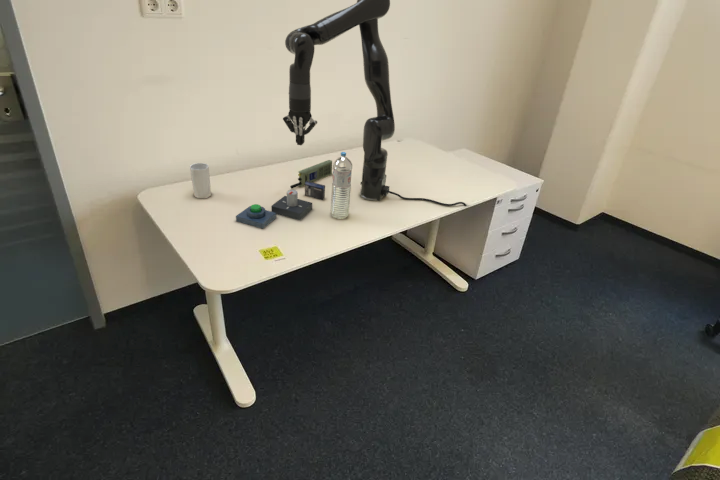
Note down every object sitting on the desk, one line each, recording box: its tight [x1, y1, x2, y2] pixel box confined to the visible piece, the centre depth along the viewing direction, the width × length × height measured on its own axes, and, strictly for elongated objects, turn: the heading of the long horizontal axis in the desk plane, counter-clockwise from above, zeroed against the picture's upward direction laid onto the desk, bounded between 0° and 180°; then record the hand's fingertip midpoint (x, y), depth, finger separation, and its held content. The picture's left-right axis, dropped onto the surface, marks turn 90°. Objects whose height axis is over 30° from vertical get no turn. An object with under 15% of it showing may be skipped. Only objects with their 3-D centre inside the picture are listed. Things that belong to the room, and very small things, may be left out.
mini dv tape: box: [304, 181, 326, 201], centre depth 172 cm, size 8×2×6 cm, turn 68°
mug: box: [189, 162, 212, 199], centre depth 165 cm, size 10×7×12 cm, turn 46°
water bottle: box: [330, 151, 353, 220], centre depth 156 cm, size 7×7×25 cm
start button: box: [250, 203, 262, 213], centre depth 152 cm, size 4×4×2 cm
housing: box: [235, 205, 277, 230], centre depth 153 cm, size 11×9×4 cm
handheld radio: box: [289, 159, 333, 190], centre depth 184 cm, size 7×3×25 cm
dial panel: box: [270, 195, 313, 221], centre depth 161 cm, size 12×10×3 cm
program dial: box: [286, 189, 299, 207], centre depth 159 cm, size 4×4×5 cm
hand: (300, 144), depth 156 cm, fingers closed
